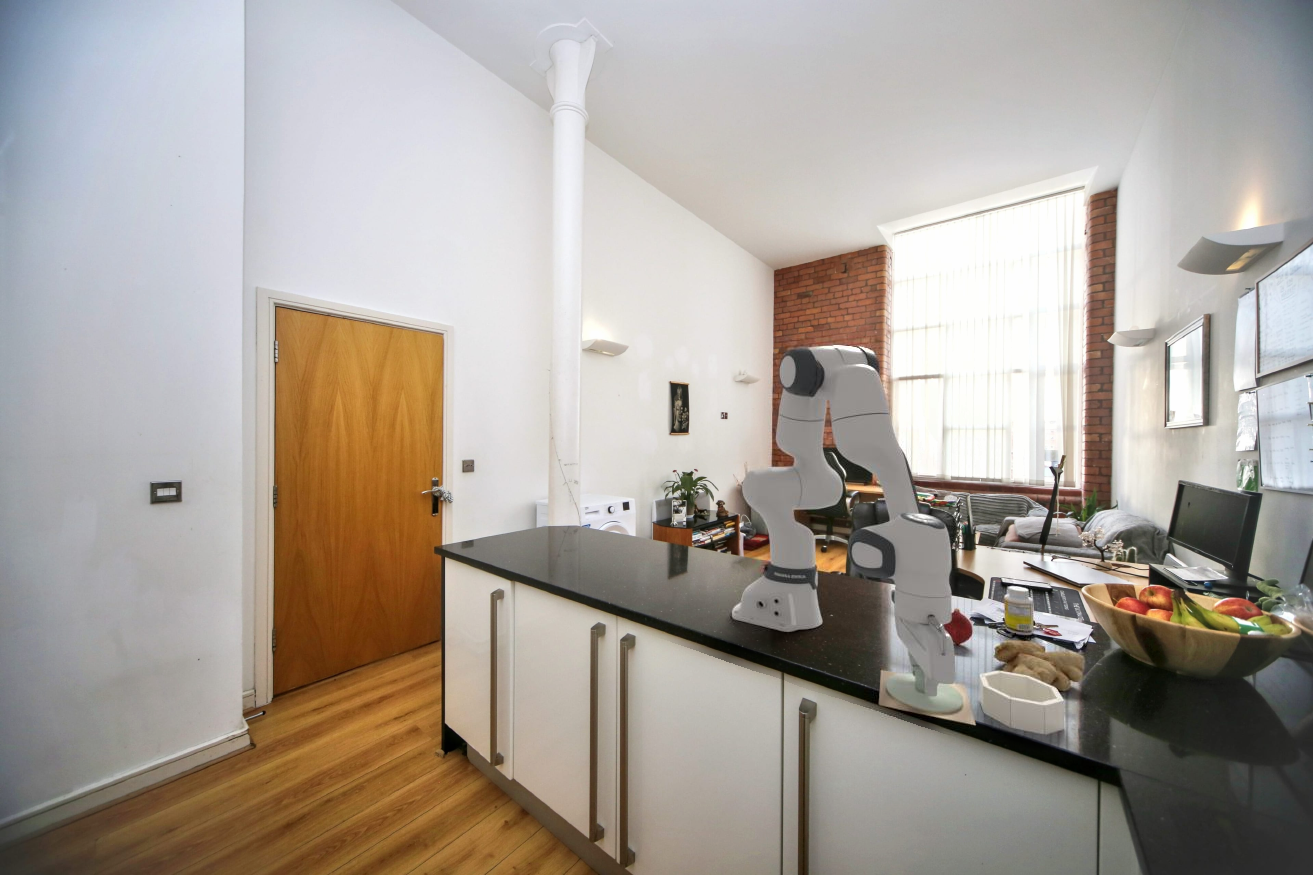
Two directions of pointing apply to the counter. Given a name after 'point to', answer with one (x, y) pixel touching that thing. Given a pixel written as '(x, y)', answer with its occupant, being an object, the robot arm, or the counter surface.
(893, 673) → the mat
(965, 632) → the onion
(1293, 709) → the counter surface
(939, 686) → the lid
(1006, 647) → the ginger root
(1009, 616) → the supplement bottle
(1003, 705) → the bowl
